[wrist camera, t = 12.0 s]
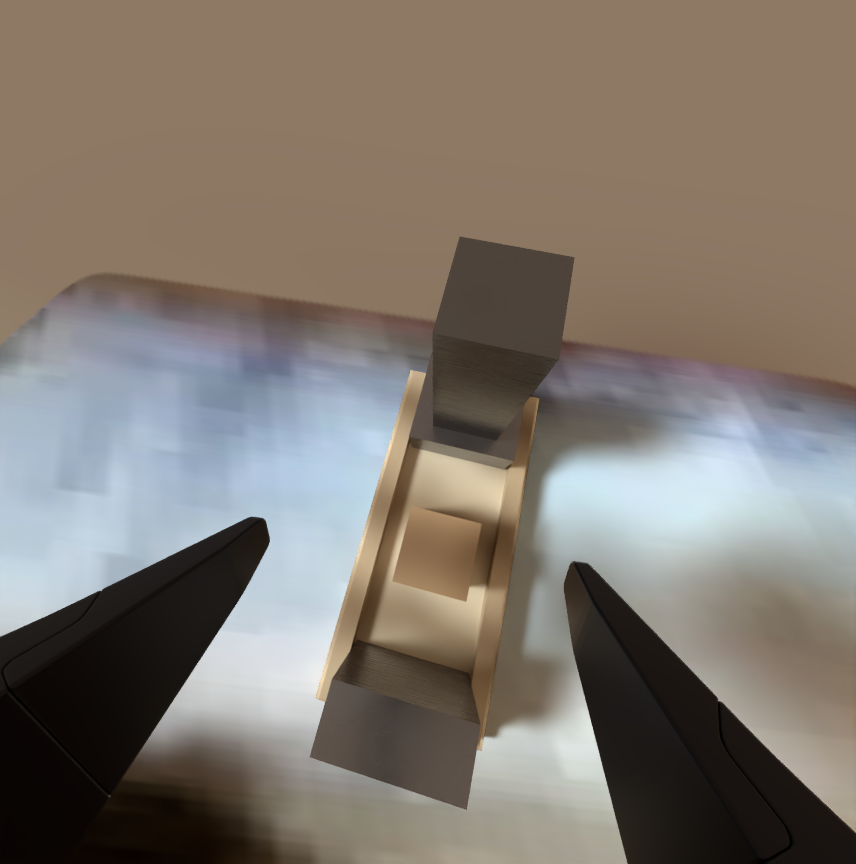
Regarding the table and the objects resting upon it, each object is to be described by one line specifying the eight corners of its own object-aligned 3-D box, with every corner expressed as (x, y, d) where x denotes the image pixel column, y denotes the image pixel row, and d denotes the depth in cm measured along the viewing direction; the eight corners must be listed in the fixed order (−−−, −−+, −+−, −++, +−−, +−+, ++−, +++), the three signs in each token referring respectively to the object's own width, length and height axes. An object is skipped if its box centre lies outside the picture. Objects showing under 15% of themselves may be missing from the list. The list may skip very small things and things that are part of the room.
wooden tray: (478, 736, 19) (484, 764, 17) (322, 687, 20) (308, 707, 17) (534, 404, 25) (544, 393, 22) (411, 377, 25) (410, 363, 23)
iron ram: (503, 469, 22) (598, 398, 9) (412, 447, 22) (384, 352, 10) (517, 391, 23) (615, 241, 11) (432, 372, 24) (430, 209, 11)
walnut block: (460, 586, 20) (466, 601, 16) (400, 569, 20) (391, 581, 16) (472, 523, 21) (481, 523, 17) (415, 508, 21) (411, 505, 18)
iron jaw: (457, 732, 18) (466, 809, 13) (342, 695, 18) (309, 756, 14) (468, 672, 19) (480, 725, 14) (357, 639, 19) (332, 678, 14)
